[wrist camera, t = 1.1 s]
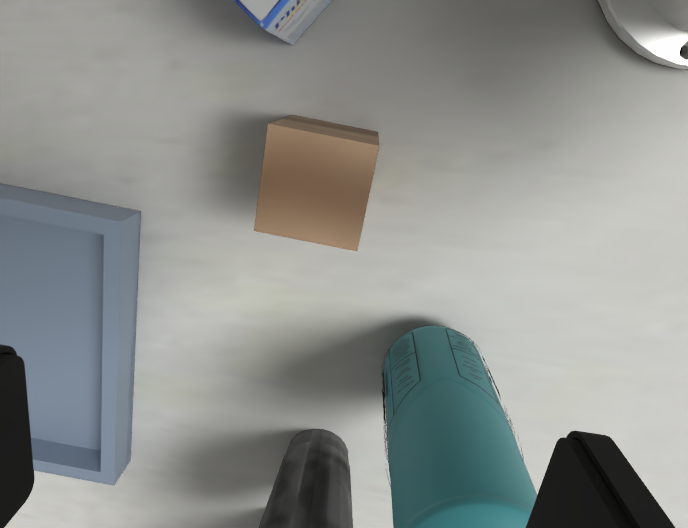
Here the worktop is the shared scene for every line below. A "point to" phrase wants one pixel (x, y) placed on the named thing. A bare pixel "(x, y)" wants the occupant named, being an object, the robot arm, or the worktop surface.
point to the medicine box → (284, 15)
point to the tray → (72, 326)
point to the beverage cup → (312, 485)
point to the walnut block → (316, 181)
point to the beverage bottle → (450, 438)
